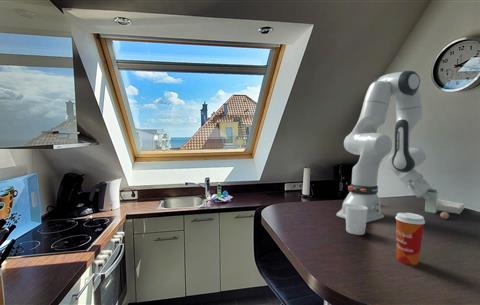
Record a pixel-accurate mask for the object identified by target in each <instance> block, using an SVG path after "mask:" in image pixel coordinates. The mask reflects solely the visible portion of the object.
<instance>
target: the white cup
mask: <svg viewBox="0 0 480 305" xmlns="http://www.w3.org/2000/svg"><path fill="white" fill-rule="evenodd" d="M367 211H368V208H367V207H365V206H362V205H357V204H348V205H346V219H345V231H346V232H347V233H349V234H352V235H354V236H355V235H356V236H362V235H365V233H366V227H367V222H366V220H367Z"/></svg>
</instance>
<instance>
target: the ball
mask: <svg viewBox="0 0 480 305" xmlns="http://www.w3.org/2000/svg"><path fill="white" fill-rule="evenodd" d="M449 214H450V213H449V212H444V211H441V213H440V218H442V219H443V220H447V219H449V217H450V215H449Z"/></svg>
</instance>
